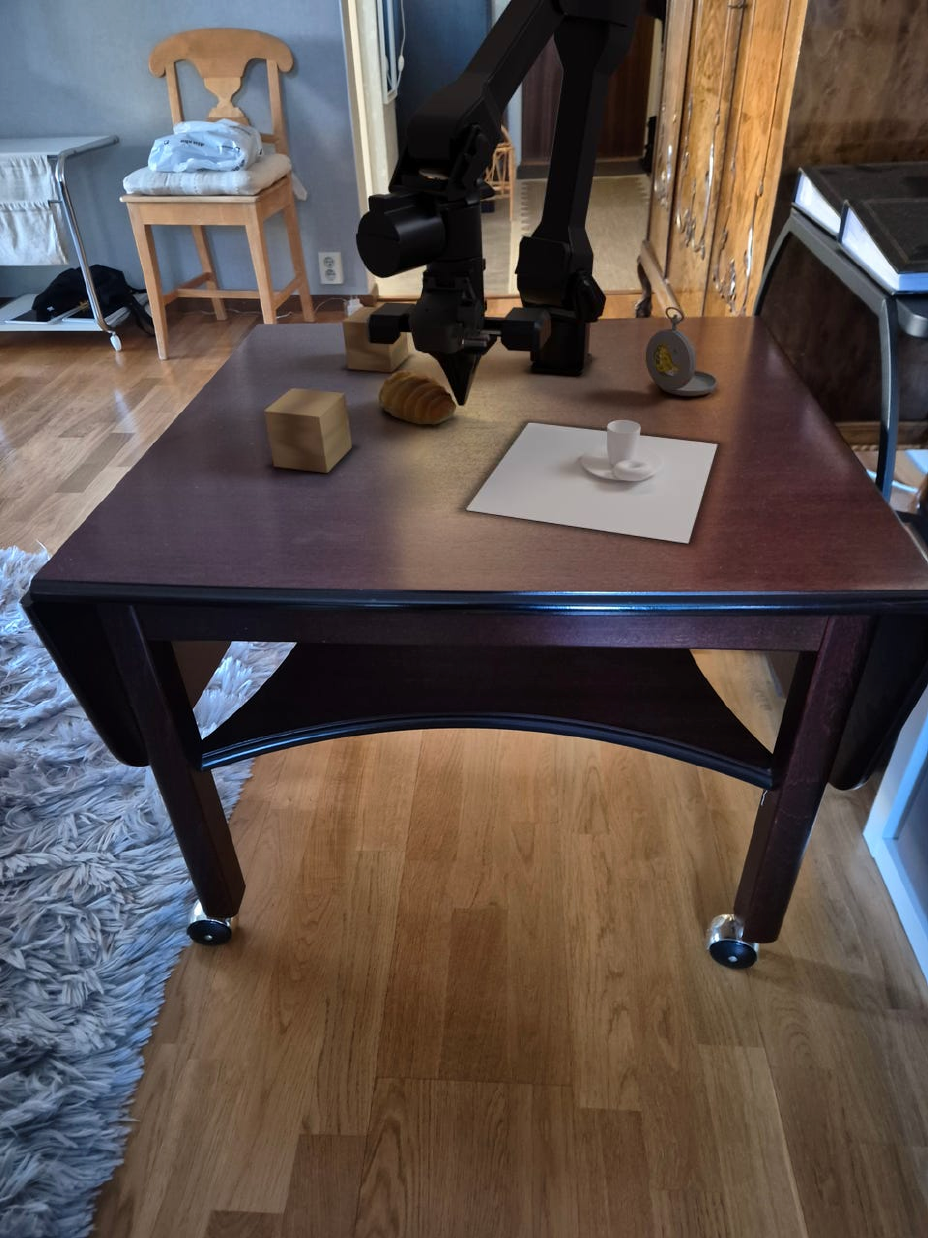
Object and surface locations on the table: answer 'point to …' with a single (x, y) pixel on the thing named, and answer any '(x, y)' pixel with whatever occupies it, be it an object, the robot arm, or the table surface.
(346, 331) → the block
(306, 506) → the table surface
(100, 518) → the table surface
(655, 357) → the pocket watch
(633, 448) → the teacup and saucer
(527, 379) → the table surface
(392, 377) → the pastry
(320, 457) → the block
